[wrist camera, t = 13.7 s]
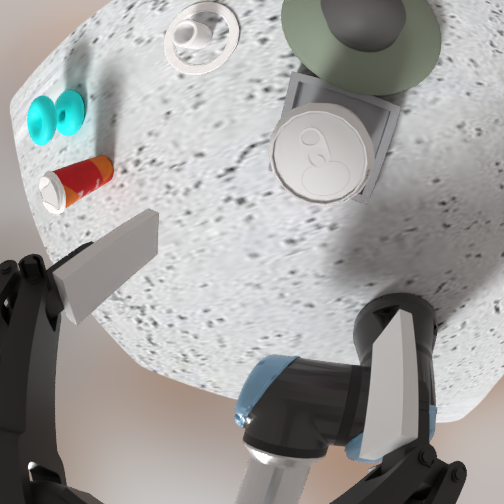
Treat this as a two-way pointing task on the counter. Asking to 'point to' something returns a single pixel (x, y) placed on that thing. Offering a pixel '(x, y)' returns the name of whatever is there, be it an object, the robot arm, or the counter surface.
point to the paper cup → (74, 182)
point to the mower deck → (360, 59)
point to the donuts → (55, 116)
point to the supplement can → (321, 153)
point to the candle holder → (198, 37)
